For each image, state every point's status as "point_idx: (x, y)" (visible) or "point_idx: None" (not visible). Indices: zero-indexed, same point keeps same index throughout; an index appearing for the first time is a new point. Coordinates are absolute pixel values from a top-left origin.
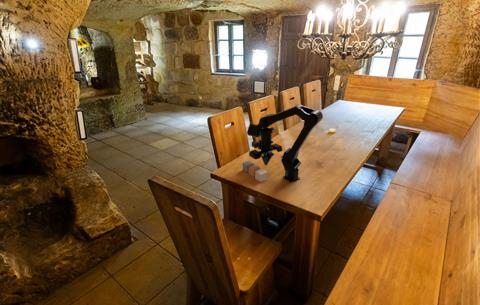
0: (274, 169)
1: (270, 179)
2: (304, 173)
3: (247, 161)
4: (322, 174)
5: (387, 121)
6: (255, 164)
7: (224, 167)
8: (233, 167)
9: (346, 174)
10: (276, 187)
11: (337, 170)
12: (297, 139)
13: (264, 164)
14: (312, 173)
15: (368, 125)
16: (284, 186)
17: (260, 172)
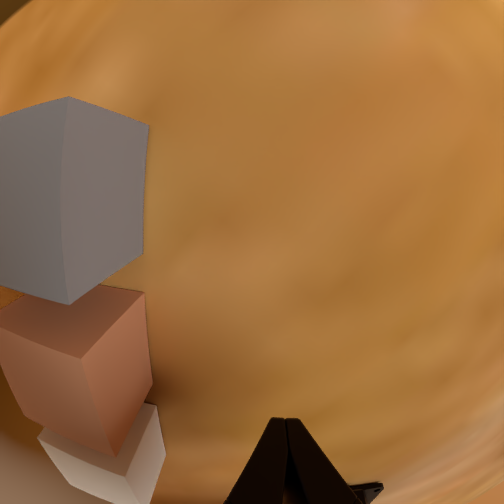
0: (381, 390)
1: (193, 464)
2: (428, 484)
3: (20, 130)
4: (448, 495)
5: None
6: (79, 361)
7: (10, 20)
8: (39, 38)
9: (473, 498)
10: (168, 501)
11: (494, 477)
12: None
13: (268, 424)
14: (443, 487)
15: None
16: None
17: (79, 479)
